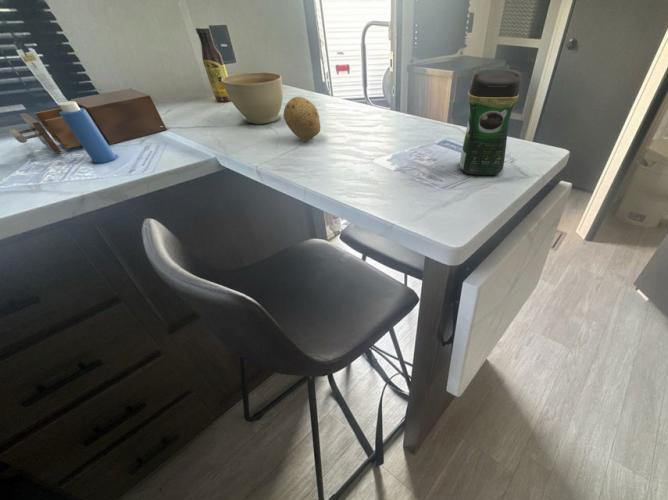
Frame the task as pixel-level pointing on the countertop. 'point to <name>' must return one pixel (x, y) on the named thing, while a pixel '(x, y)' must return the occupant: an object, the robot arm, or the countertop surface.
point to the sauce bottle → (213, 64)
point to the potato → (302, 118)
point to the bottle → (86, 132)
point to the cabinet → (123, 114)
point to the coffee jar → (489, 120)
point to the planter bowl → (256, 95)
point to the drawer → (49, 130)
